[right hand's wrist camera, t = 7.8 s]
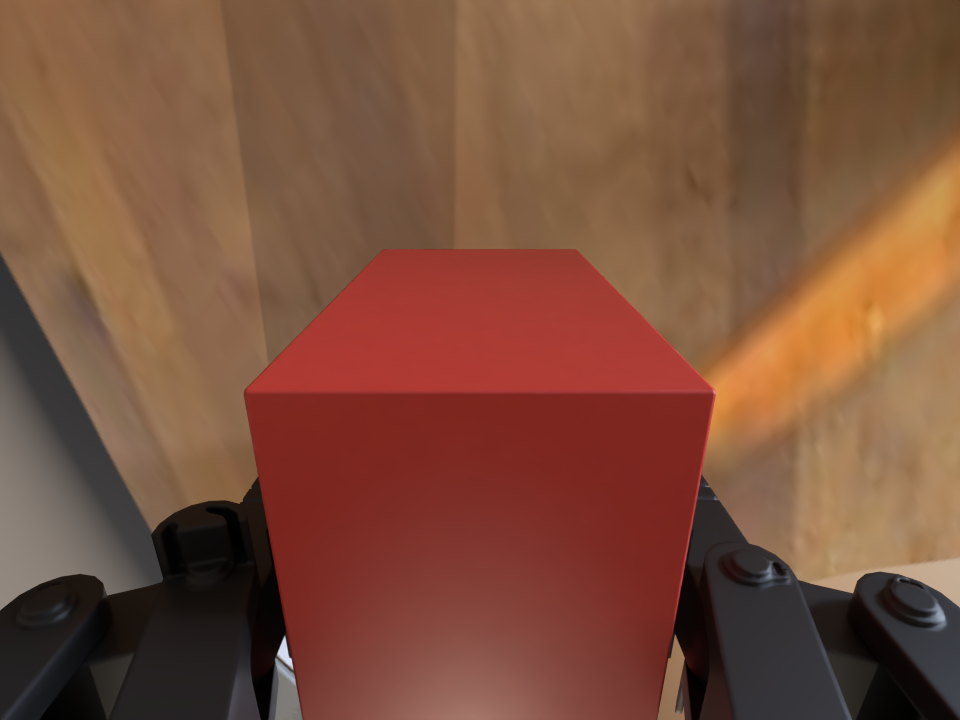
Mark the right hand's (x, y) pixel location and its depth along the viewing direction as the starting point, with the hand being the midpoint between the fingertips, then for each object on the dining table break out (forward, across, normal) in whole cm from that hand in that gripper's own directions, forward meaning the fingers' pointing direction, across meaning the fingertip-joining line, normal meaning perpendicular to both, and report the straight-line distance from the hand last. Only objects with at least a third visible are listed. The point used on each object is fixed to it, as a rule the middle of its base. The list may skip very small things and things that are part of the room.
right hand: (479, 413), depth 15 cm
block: (+1, 0, 0) cm, 1 cm away
